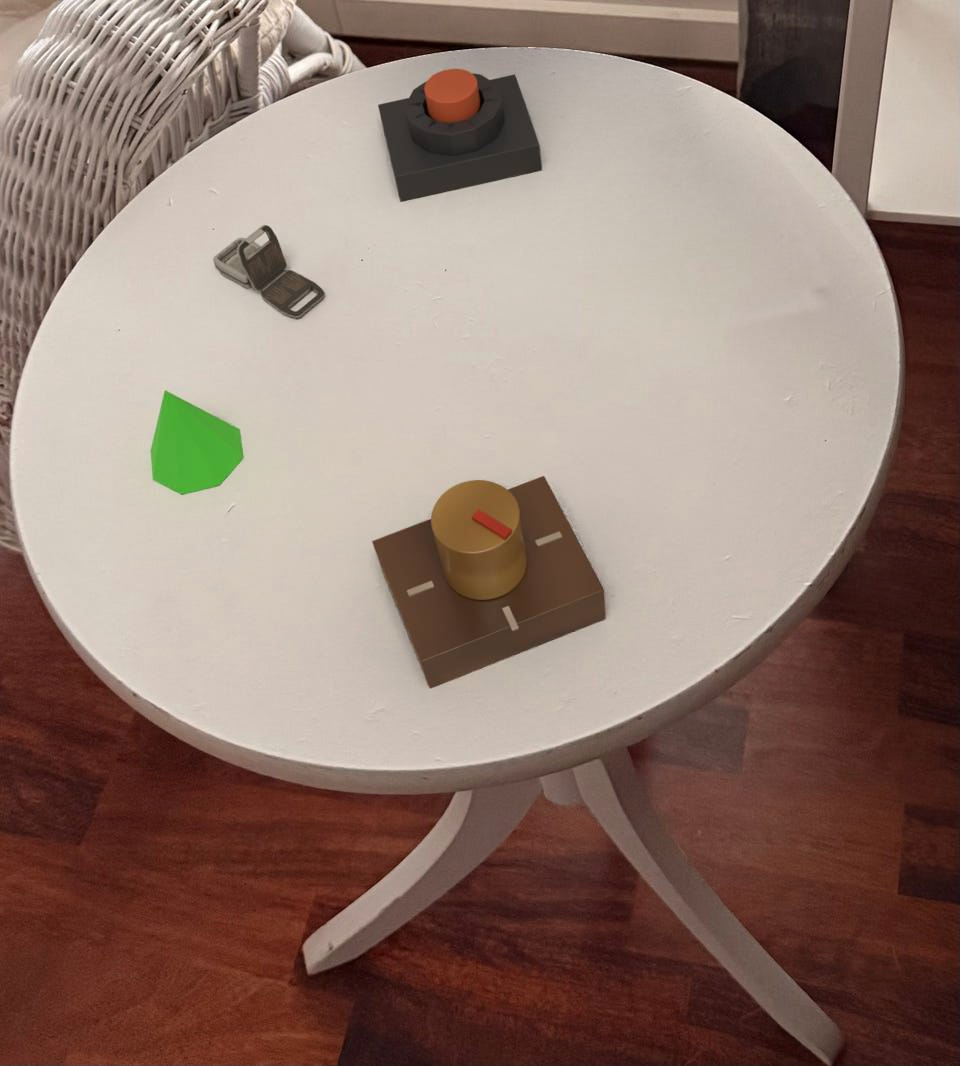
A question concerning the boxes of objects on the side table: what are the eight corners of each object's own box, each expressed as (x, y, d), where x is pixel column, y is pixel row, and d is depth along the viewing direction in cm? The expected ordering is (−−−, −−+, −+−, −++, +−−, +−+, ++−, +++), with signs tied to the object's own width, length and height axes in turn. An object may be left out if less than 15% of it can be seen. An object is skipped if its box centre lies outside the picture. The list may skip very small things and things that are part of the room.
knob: (426, 572, 65) (411, 520, 61) (479, 515, 67) (468, 461, 63) (490, 615, 63) (480, 565, 59) (544, 556, 65) (537, 503, 61)
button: (474, 85, 86) (471, 63, 85) (484, 117, 84) (481, 95, 83) (423, 96, 86) (420, 74, 85) (432, 129, 84) (429, 107, 83)
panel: (545, 502, 70) (541, 469, 68) (608, 623, 66) (606, 592, 63) (380, 566, 69) (369, 534, 67) (431, 693, 65) (422, 665, 62)
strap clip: (211, 269, 84) (192, 221, 81) (244, 243, 85) (226, 195, 82) (296, 324, 80) (280, 276, 77) (329, 296, 81) (314, 247, 78)
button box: (517, 99, 90) (512, 51, 87) (542, 170, 86) (537, 122, 83) (383, 129, 90) (373, 82, 87) (400, 201, 86) (390, 155, 82)
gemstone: (262, 459, 74) (235, 394, 69) (175, 511, 73) (140, 449, 68) (217, 399, 77) (187, 333, 73) (131, 448, 76) (95, 384, 71)
